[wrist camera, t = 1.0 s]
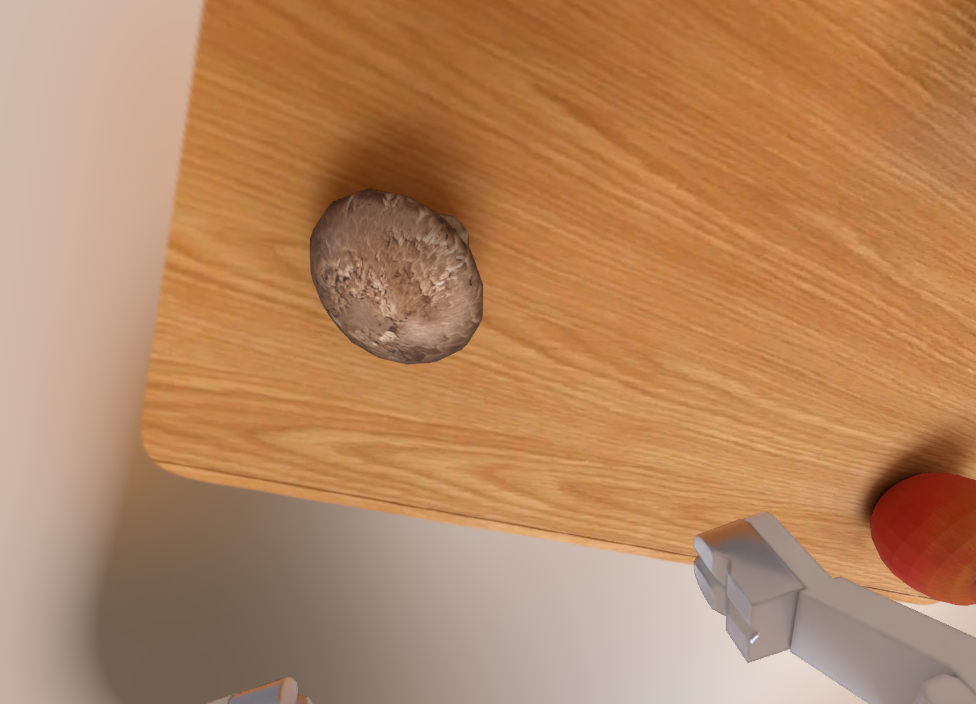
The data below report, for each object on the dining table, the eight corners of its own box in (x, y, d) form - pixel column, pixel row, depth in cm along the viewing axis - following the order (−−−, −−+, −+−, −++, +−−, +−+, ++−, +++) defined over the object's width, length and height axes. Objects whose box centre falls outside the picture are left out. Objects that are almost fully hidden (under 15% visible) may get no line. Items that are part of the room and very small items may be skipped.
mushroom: (529, 192, 21) (471, 282, 17) (497, 324, 27) (449, 414, 23) (356, 131, 22) (263, 202, 18) (361, 271, 28) (293, 348, 24)
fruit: (891, 548, 47) (1010, 656, 38) (825, 527, 43) (941, 642, 35) (972, 468, 44) (1122, 566, 35) (909, 439, 40) (1060, 540, 31)
